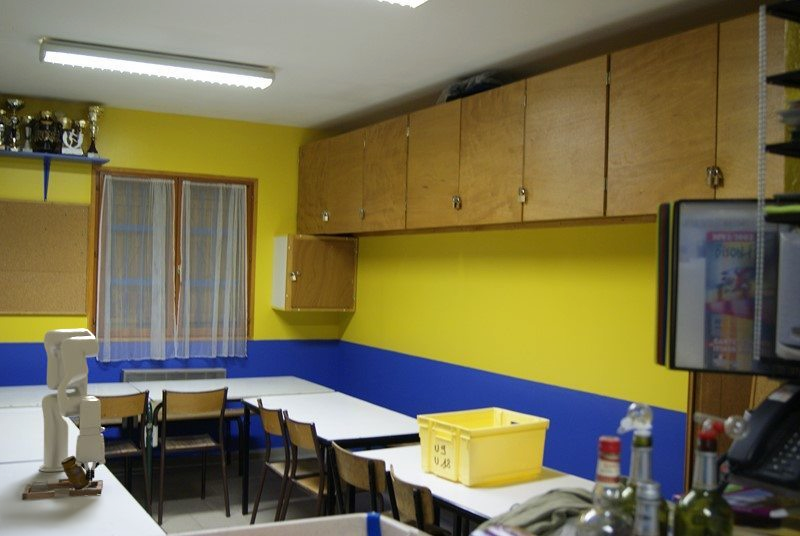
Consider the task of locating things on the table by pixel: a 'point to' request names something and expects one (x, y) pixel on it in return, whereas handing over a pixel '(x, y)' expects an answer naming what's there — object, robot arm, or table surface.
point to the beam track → (59, 489)
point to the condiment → (75, 473)
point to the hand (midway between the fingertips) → (90, 480)
